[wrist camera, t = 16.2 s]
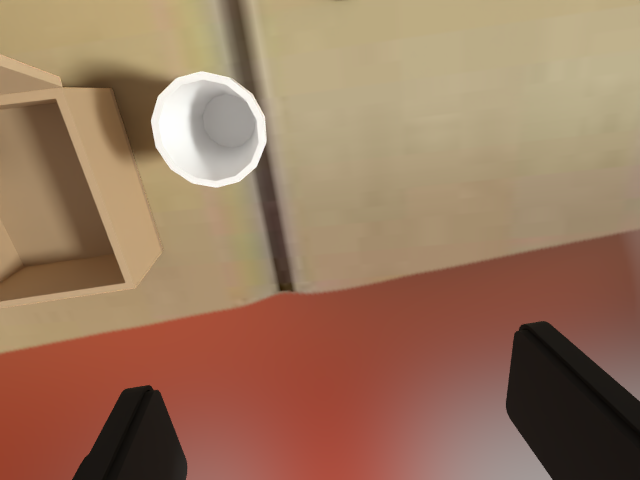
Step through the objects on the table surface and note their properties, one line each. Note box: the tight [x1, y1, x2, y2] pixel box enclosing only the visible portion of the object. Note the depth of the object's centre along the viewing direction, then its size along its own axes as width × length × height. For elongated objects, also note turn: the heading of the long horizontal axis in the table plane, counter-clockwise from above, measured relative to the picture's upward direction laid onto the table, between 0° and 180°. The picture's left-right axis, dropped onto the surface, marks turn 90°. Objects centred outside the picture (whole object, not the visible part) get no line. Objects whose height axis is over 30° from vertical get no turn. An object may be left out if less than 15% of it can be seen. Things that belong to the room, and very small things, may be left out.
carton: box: [0, 87, 164, 308], centre depth 39 cm, size 20×18×10 cm
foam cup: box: [151, 71, 266, 188], centre depth 36 cm, size 10×9×13 cm
